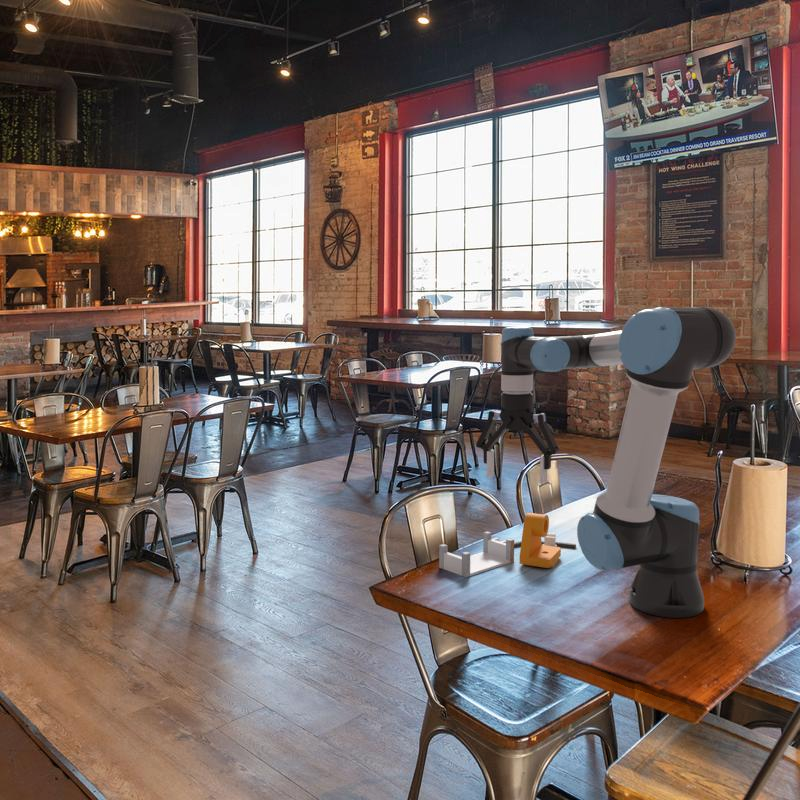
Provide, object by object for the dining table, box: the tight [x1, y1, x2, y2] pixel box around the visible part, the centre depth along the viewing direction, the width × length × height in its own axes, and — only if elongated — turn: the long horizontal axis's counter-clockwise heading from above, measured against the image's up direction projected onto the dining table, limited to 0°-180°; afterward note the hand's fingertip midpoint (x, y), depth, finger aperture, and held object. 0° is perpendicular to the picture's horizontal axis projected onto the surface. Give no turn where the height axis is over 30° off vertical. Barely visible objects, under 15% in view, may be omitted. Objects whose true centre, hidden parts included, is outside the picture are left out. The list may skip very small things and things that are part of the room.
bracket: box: [518, 512, 562, 569], centre depth 204 cm, size 11×7×12 cm, turn 153°
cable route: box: [492, 532, 577, 549], centre depth 216 cm, size 6×23×3 cm, turn 100°
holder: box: [438, 531, 515, 578], centre depth 203 cm, size 9×17×6 cm, turn 131°
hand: (516, 479), depth 202 cm, fingers open, 13 cm apart
